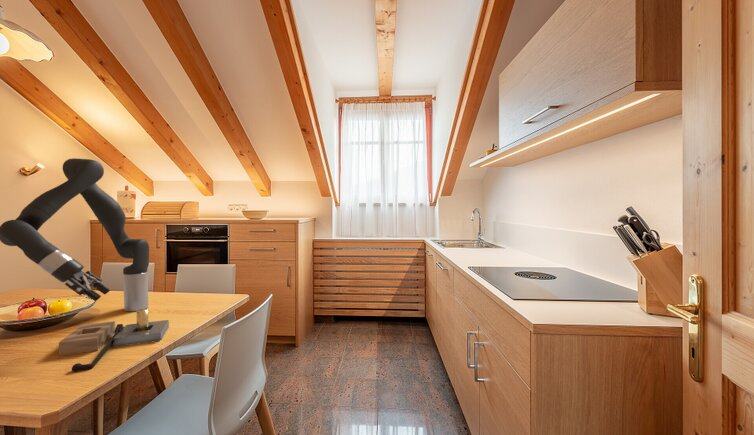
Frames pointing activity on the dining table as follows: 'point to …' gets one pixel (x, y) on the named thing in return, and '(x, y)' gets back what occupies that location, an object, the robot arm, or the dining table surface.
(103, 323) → the brown recessed block
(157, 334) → the block
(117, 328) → the wrench
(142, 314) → the gold round-topped peg
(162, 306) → the dining table surface
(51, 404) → the dining table surface
